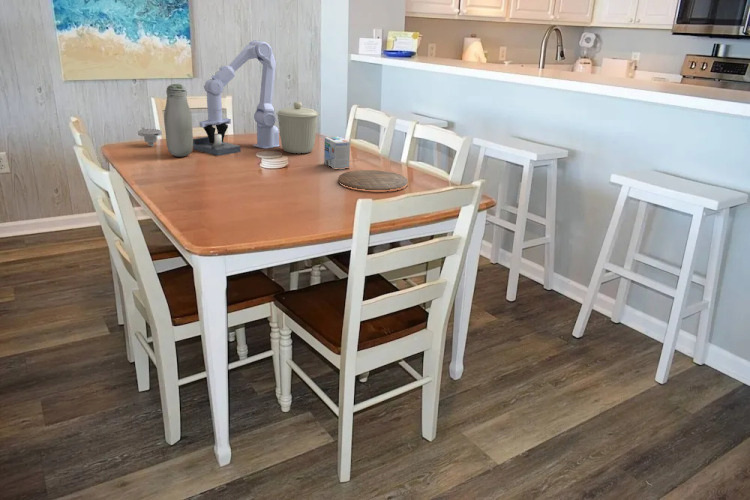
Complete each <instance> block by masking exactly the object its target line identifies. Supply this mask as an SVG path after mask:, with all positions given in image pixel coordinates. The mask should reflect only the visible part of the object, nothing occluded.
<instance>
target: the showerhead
mask: <svg viewBox="0 0 750 500" xmlns="http://www.w3.org/2000/svg"><path fill="white" fill-rule="evenodd" d="M162 134H163V133H162V130H160V129H156V128H145V127H144V126H142V128H141V129H139V130H138V131H137V135H138V136H140V137H143V139H144V142H145V143H147V145H148V147H149V146H152V147H155V144H154V143H156V142H157V137H159V136H162Z"/></svg>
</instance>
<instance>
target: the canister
mask: <svg viewBox="0 0 750 500" xmlns="http://www.w3.org/2000/svg"><path fill="white" fill-rule="evenodd" d="M276 115H277V118H278V119H277V121H278V127H279V128H278V130H279V138H280V142H281V144H280V145H281V147H282V149H283V151H284V152H287V153H289V154H296V153H297V155H299V154H301V153H302V154H308V153H310V152H312V151H313V149H314V147H315V143H316V142H315V141H316V134H317V125H318V117H319V115H320V113H319V112H317V111H316V110H315V109H312V108H309V107H303V104H302V102H300V101H295V102H293V107H284V108H280V109H279V110H277V111H276Z"/></svg>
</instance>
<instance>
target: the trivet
mask: <svg viewBox="0 0 750 500" xmlns="http://www.w3.org/2000/svg"><path fill="white" fill-rule="evenodd" d="M337 178H338V181H339V182H340V183H341V184H343V185H345V186H348V187H352V188H357V189H365V190H390V189H396V188H401V187H403V186H405V185H406V184H407V183H408V184H409V181H408V180H409V179H408V178H407V177H406V176H404V175H402V174H399V173H396V172H391V171H385V170H376V169H375V170H374V169H373V170H372V169H359V170H350V171H346V172H343V173H341V174H339V175H338V177H337ZM338 181H337V182H338ZM339 182H338V183H339Z"/></svg>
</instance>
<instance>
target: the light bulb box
mask: <svg viewBox="0 0 750 500" xmlns="http://www.w3.org/2000/svg"><path fill="white" fill-rule="evenodd" d="M323 150H324V151H323V152H324V155H323V158H324V160H323V164H324V163H325V165H326V164H327V165H329V166H331V167H333V168H345V167H349V168H350V156H351V155H350V154H351V152H350V151H351V141H349V140H347V139H345V138H343V137H341V136H329V137H327V136H326V137H324V149H323ZM327 165H326V166H327ZM329 166H328V167H329Z"/></svg>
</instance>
